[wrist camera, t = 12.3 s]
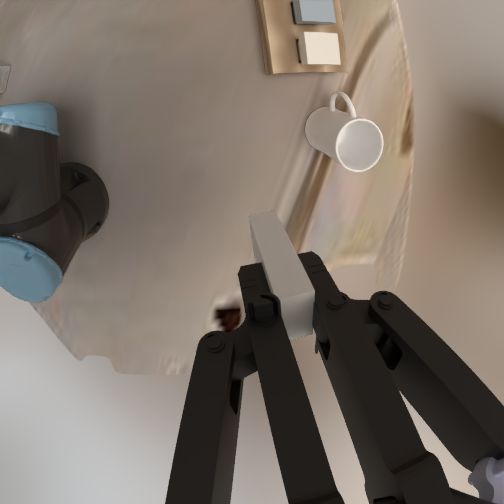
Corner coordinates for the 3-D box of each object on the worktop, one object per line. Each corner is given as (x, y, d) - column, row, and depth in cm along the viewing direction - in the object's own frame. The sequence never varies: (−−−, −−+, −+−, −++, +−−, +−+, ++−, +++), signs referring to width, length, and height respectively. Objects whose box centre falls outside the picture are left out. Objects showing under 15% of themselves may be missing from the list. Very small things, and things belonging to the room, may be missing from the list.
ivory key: (292, 66, 35) (307, 64, 29) (288, 38, 32) (304, 31, 26) (320, 65, 35) (340, 64, 29) (317, 38, 32) (337, 33, 26)
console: (265, 74, 37) (273, 73, 33) (250, -28, 26) (256, -38, 22) (334, 72, 38) (347, 72, 34) (320, -25, 26) (332, -33, 22)
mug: (302, 89, 39) (332, 93, 30) (347, 89, 40) (386, 96, 30) (305, 153, 46) (333, 176, 37) (348, 150, 47) (383, 171, 37)
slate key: (287, 28, 31) (302, 20, 25) (283, 3, 28) (297, -9, 22) (316, 29, 31) (336, 22, 25) (313, 4, 28) (331, -6, 23)
